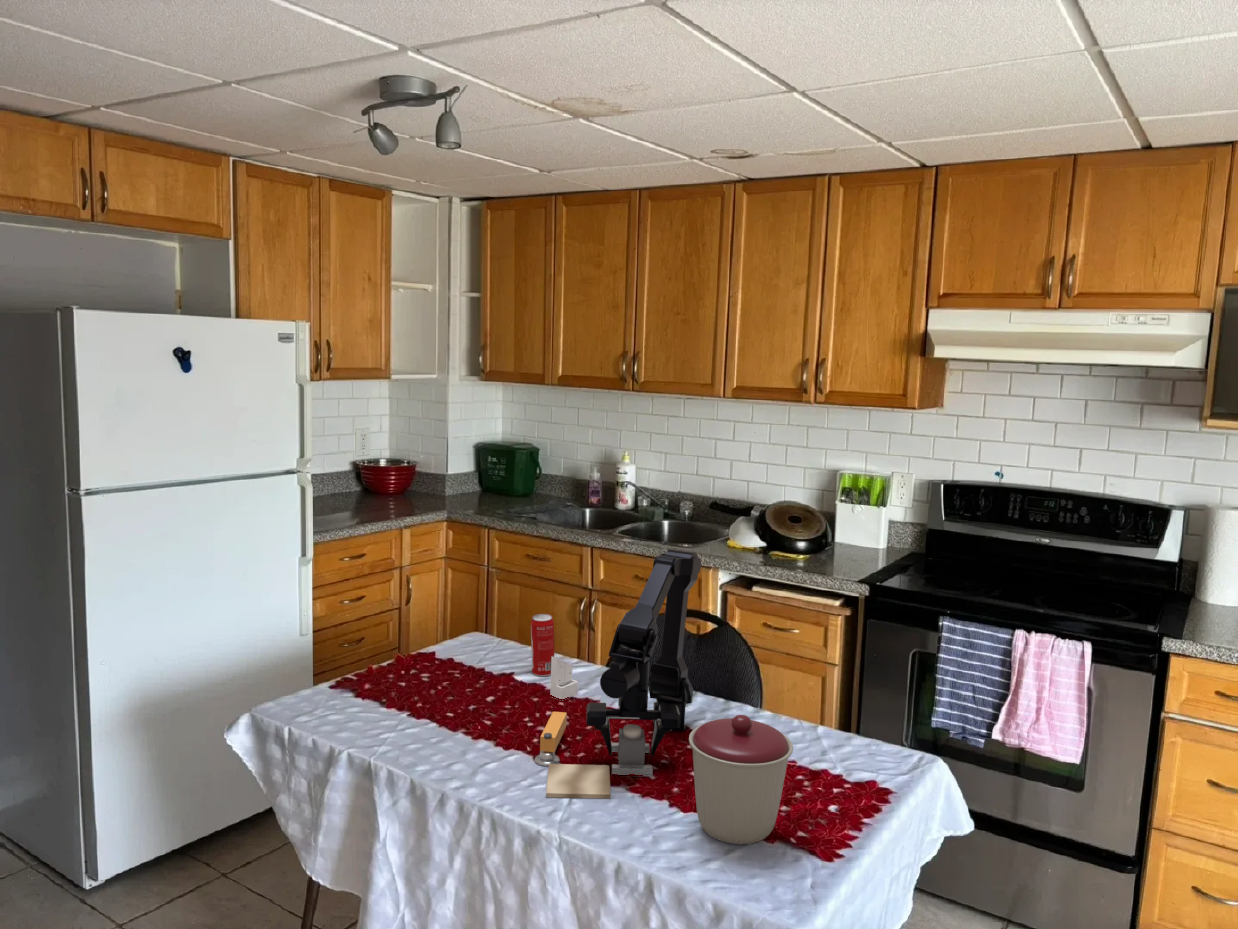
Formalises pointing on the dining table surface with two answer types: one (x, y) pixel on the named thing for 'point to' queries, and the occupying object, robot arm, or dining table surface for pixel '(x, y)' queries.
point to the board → (578, 781)
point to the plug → (631, 745)
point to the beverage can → (542, 644)
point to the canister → (738, 777)
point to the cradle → (645, 770)
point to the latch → (553, 732)
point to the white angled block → (562, 679)
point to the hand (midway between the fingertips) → (631, 755)
